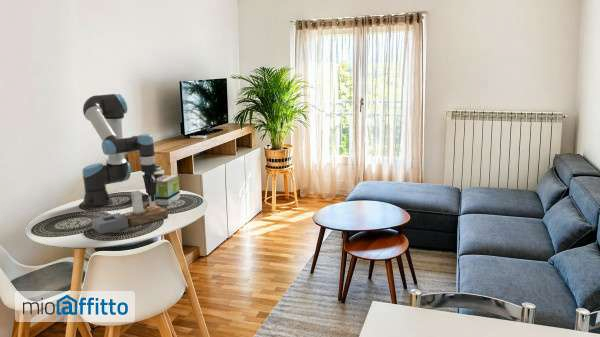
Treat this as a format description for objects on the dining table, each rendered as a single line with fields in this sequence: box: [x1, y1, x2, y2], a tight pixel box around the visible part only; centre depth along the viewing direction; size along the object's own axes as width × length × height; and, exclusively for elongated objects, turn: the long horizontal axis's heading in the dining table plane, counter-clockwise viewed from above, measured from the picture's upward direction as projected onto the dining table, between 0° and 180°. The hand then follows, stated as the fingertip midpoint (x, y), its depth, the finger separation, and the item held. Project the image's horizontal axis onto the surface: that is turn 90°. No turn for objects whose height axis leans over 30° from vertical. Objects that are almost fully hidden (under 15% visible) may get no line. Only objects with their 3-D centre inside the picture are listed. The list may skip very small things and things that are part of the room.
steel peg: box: [130, 190, 144, 216], centre depth 252 cm, size 4×4×16 cm
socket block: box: [122, 205, 169, 227], centre depth 256 cm, size 12×20×4 cm, turn 130°
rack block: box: [91, 212, 129, 235], centre depth 244 cm, size 12×14×5 cm
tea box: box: [154, 174, 181, 206], centre depth 286 cm, size 15×10×15 cm, turn 168°
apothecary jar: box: [153, 164, 165, 179], centre depth 302 cm, size 12×12×18 cm
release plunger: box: [145, 205, 159, 213], centre depth 258 cm, size 5×5×5 cm
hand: (152, 206), depth 257 cm, fingers closed
